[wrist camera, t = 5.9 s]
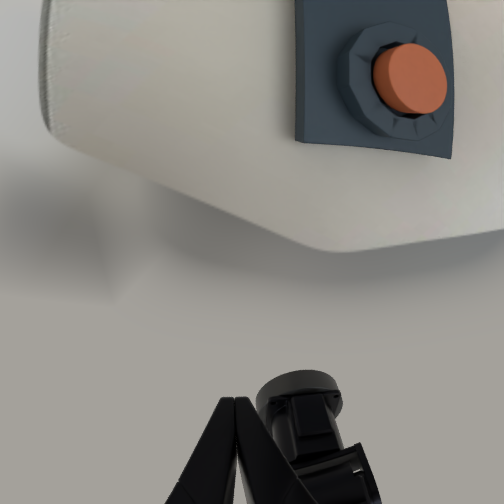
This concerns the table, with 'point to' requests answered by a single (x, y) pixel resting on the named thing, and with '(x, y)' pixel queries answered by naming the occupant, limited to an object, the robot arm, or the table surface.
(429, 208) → the table surface
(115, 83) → the table surface
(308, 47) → the button housing
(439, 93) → the orange button cap
